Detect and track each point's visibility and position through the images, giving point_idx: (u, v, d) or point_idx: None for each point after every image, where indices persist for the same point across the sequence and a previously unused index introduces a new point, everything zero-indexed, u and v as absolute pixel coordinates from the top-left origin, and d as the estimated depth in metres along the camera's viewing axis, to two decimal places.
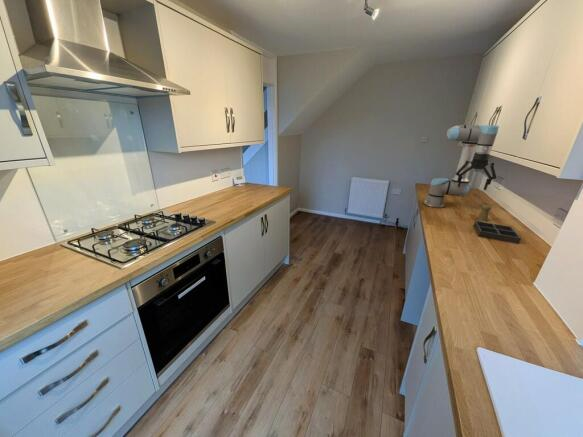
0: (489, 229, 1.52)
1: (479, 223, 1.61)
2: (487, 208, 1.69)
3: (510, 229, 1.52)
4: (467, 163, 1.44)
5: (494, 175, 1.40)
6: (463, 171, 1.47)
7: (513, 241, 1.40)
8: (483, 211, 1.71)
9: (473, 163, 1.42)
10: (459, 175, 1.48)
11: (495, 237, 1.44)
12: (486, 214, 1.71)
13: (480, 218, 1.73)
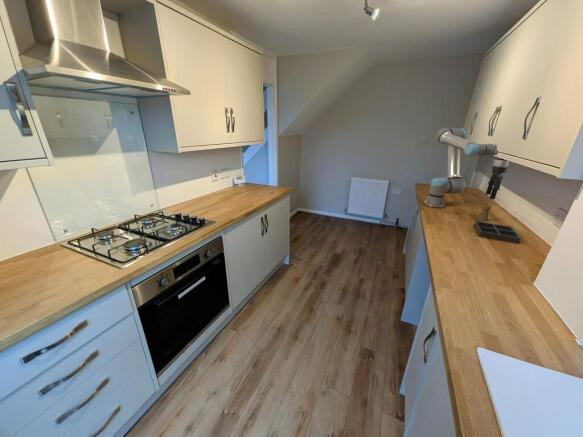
0: (489, 229, 1.52)
1: (479, 223, 1.61)
2: (487, 208, 1.69)
3: (510, 229, 1.52)
4: (492, 174, 1.67)
5: (494, 186, 1.57)
6: None
7: (513, 241, 1.40)
8: (483, 211, 1.71)
9: None
10: (488, 184, 1.72)
11: (495, 237, 1.44)
12: (486, 214, 1.71)
13: (480, 218, 1.73)
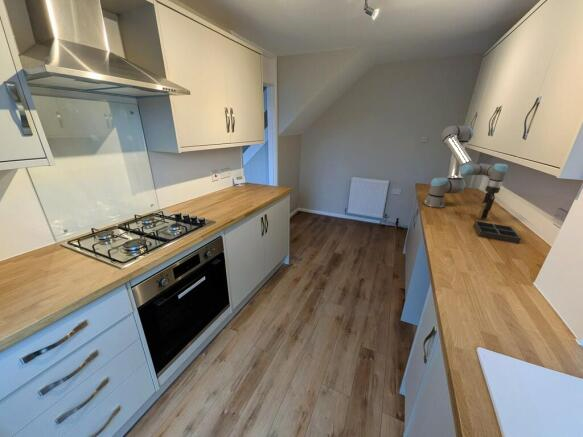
0: (489, 229, 1.52)
1: (479, 223, 1.61)
2: None
3: (510, 229, 1.52)
4: (486, 194, 1.73)
5: (486, 207, 1.66)
6: (486, 202, 1.74)
7: (513, 241, 1.40)
8: None
9: (487, 193, 1.71)
10: None
11: (495, 237, 1.44)
12: None
13: (480, 216, 1.73)
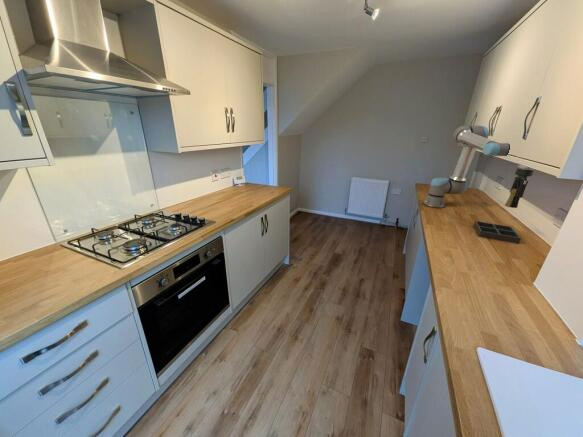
0: (489, 229, 1.52)
1: (479, 223, 1.61)
2: None
3: (510, 229, 1.52)
4: (515, 179, 1.47)
5: (517, 193, 1.39)
6: None
7: (513, 241, 1.40)
8: None
9: (517, 178, 1.44)
10: (510, 193, 1.49)
11: (495, 237, 1.44)
12: None
13: (508, 204, 1.46)
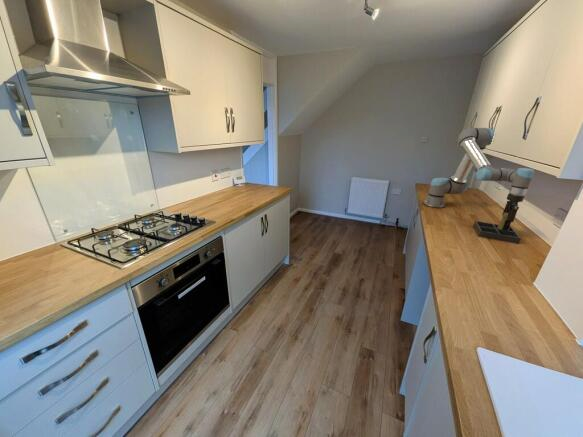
0: (489, 229, 1.52)
1: (479, 223, 1.61)
2: None
3: (510, 229, 1.52)
4: (507, 203, 1.52)
5: (508, 218, 1.44)
6: (508, 212, 1.52)
7: (513, 241, 1.40)
8: None
9: (509, 202, 1.49)
10: None
11: (495, 237, 1.44)
12: None
13: (500, 228, 1.51)
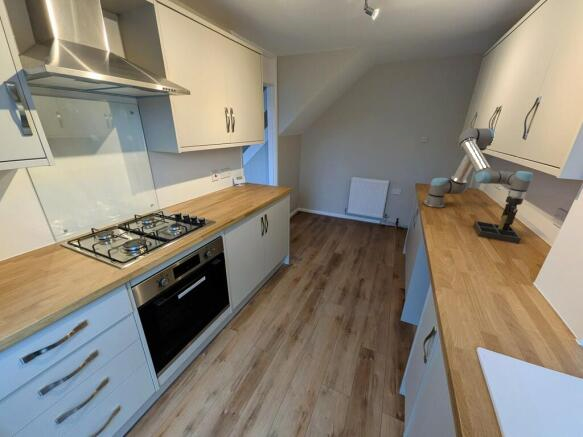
0: (489, 229, 1.52)
1: (479, 223, 1.61)
2: None
3: (510, 229, 1.52)
4: (506, 205, 1.52)
5: (507, 220, 1.45)
6: (507, 215, 1.52)
7: (513, 241, 1.40)
8: (503, 222, 1.50)
9: (508, 205, 1.50)
10: None
11: (495, 237, 1.44)
12: None
13: None
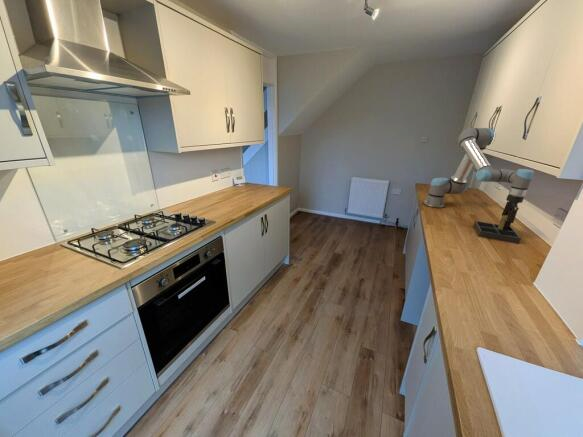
0: (489, 229, 1.52)
1: (479, 223, 1.61)
2: None
3: (510, 229, 1.52)
4: (506, 203, 1.52)
5: (508, 218, 1.44)
6: (507, 213, 1.52)
7: (513, 241, 1.40)
8: (503, 222, 1.50)
9: (508, 203, 1.49)
10: None
11: (495, 237, 1.44)
12: None
13: None
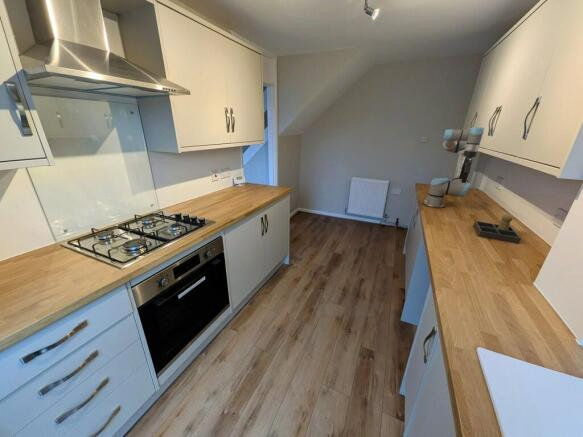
0: (489, 229, 1.52)
1: (479, 223, 1.61)
2: (508, 219, 1.48)
3: (510, 229, 1.52)
4: (464, 159, 1.73)
5: (465, 169, 1.63)
6: (465, 166, 1.74)
7: (513, 241, 1.40)
8: (503, 222, 1.50)
9: (465, 159, 1.70)
10: (461, 169, 1.77)
11: (495, 237, 1.44)
12: (507, 226, 1.49)
13: None
